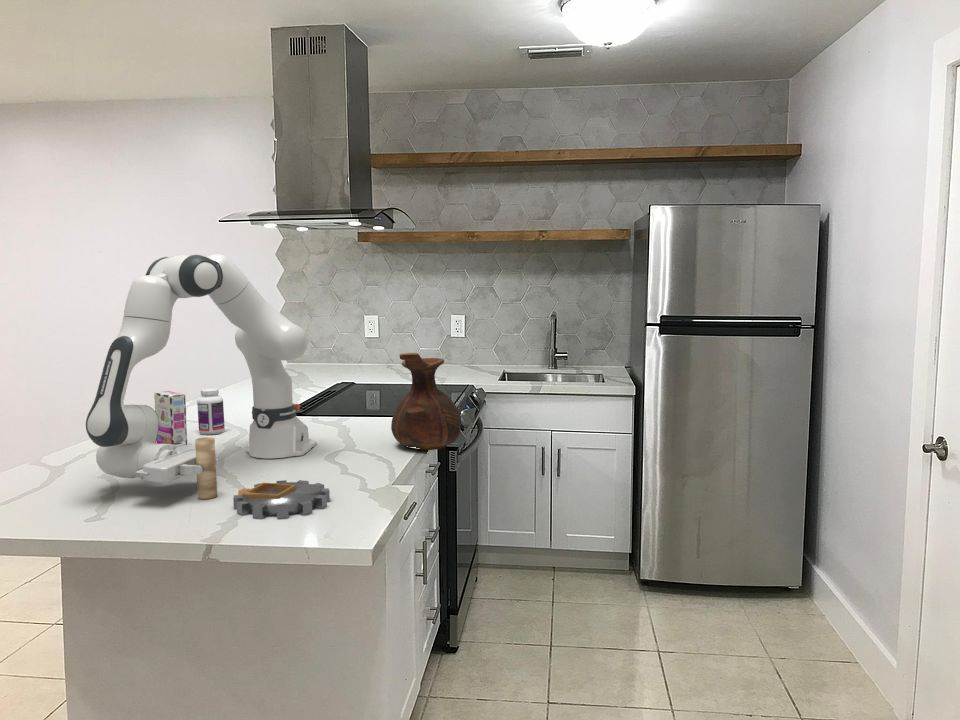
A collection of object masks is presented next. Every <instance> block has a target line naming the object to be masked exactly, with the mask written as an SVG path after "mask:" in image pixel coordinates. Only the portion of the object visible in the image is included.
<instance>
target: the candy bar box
mask: <svg viewBox="0 0 960 720" xmlns="http://www.w3.org/2000/svg"><path fill="white" fill-rule="evenodd" d="M153 396H154V397H153V398H154V411H155V412H156V414H157V415H158V418H159V430H158V435H157V440H156V444H170V443H176V442H185V443H186V445H188V432H187V431H188V430H187V408H186V406H187V405H186V394H183V393H180V392H174V391H170V390H165V391H163V390H162V391H157V392H154V395H153Z"/></svg>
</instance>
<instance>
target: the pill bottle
mask: <svg viewBox="0 0 960 720" xmlns="http://www.w3.org/2000/svg"><path fill="white" fill-rule="evenodd" d="M219 393H220V391H219V388H215V387H214V388H212V387H211V388H210V387H209V388H203V389H200V395H201V396H200V397H198V398H197V402H196V403H197V421H198V432H199V433H200V434H201V435H205V436H206V435H207V436H208V435H209V436H210V435H211V436H213V435H219V434H222V433H223V432H224V431H225V429H226V428H225V426H226V425H225V412H224V411H225V410H224V398H223V397H222V396H220V395H219Z"/></svg>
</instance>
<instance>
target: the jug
mask: <svg viewBox="0 0 960 720" xmlns="http://www.w3.org/2000/svg"><path fill="white" fill-rule="evenodd" d="M399 359H400V360H402V362H401V366H402V367H404V368H405V369H408V371H410V374H411V388H410V390H409V392H407V394H405V395H404V396H403V397H402V398H401V399H400V400H399V402H398V404H397V406H396V408H395V410H394V412H393V415H392V419H391V425H390V429H391V433H392V435H393V438H394V439H395V441H396V442H398V443H399V444H400V445H402V446H404V447H405V446H408V447H416V448H420V449H421V450H423V451H433V450H441V449H443V448H446V447H448V446H450V445H451V444H452V443H455V442H456V441H457V439H458V438H459V437H460V434H461V432H462V431H461V430H462V417H461V413H460V411H459V409H458V408H457V406H456V404H455V403H454V401H453V400H452V398H451V397H449V396H448V394H446V393H444V392H442V391H441V390H440V389H439V388H438V386H437V382H436V372H437V369H438V368H440V367H441V366H442V365H444V363H445V359H443V358H439V357H425V358H424V357H423V358H422V357H421V355H420V354H419V353H417V352H407V353H406V352H405V353H400V354H399Z"/></svg>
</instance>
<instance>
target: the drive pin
mask: <svg viewBox="0 0 960 720" xmlns="http://www.w3.org/2000/svg"><path fill="white" fill-rule="evenodd" d="M194 441H195V444H194V445H195V446H196V465H197V464H198V465H203V466H204V472H202V473H200V474H196V485H197V487H196V488H197V498H198V499H200V500H211V499H214V498H217V497H218V484H217V483H218V482H217V481H218V479H217V466H216V459H217V458H216V456H217V455H216V439H215V437H209V436H207V437H199V438H196V439H194Z"/></svg>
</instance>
